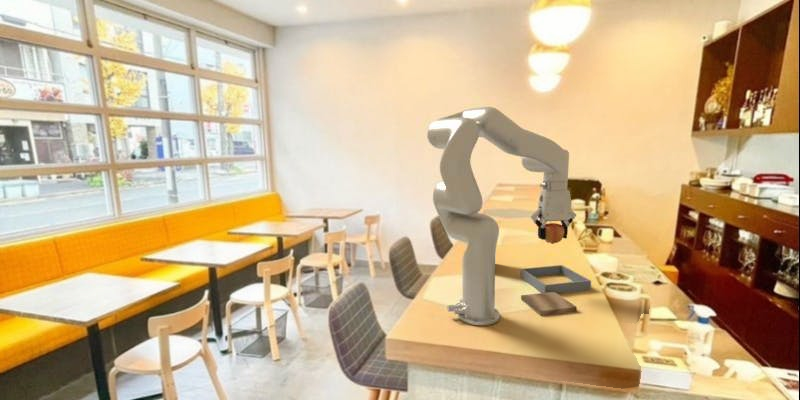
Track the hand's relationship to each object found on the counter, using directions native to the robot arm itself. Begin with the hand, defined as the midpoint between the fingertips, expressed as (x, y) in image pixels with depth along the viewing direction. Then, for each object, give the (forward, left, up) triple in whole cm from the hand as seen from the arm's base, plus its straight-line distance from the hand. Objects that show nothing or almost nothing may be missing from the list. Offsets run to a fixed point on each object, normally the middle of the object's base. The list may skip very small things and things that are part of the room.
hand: (552, 237), depth 129 cm
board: (-7, -10, -19) cm, 23 cm away
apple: (0, 0, -2) cm, 2 cm away
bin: (+5, +6, -19) cm, 21 cm away
